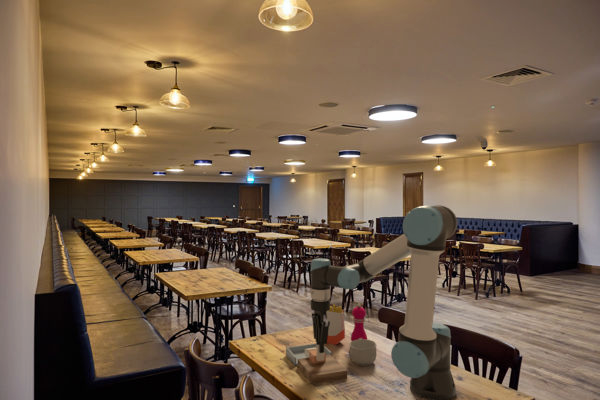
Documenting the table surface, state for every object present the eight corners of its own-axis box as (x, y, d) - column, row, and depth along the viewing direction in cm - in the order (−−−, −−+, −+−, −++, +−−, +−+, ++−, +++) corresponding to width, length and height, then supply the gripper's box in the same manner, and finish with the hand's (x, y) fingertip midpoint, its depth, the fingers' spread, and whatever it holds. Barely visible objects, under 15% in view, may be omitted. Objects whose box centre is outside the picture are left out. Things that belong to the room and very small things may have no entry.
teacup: (376, 369, 157) (376, 349, 157) (348, 367, 159) (348, 347, 159) (376, 355, 170) (376, 337, 170) (351, 353, 172) (351, 335, 172)
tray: (331, 360, 165) (331, 352, 165) (294, 366, 159) (294, 357, 159) (320, 350, 176) (320, 342, 176) (286, 355, 170) (286, 347, 170)
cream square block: (320, 356, 161) (320, 348, 162) (309, 357, 160) (308, 349, 161) (316, 355, 166) (315, 347, 167) (305, 356, 164) (304, 348, 165)
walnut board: (347, 378, 149) (347, 370, 149) (312, 384, 144) (312, 375, 144) (329, 361, 164) (330, 354, 164) (297, 366, 159) (297, 359, 159)
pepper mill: (352, 344, 183) (352, 300, 183) (368, 346, 181) (368, 302, 181) (349, 350, 176) (349, 304, 176) (365, 352, 174) (366, 306, 174)
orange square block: (325, 361, 157) (325, 354, 157) (313, 363, 155) (313, 355, 155) (320, 356, 161) (320, 349, 161) (309, 358, 160) (309, 351, 160)
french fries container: (324, 338, 191) (324, 300, 191) (345, 342, 185) (345, 304, 185) (319, 341, 187) (319, 302, 187) (340, 346, 181) (340, 306, 181)
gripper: (305, 295, 160) (305, 354, 160) (317, 304, 148) (317, 368, 148) (322, 294, 162) (322, 352, 163) (336, 302, 150) (336, 365, 150)
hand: (320, 359), depth 155 cm, fingers closed
